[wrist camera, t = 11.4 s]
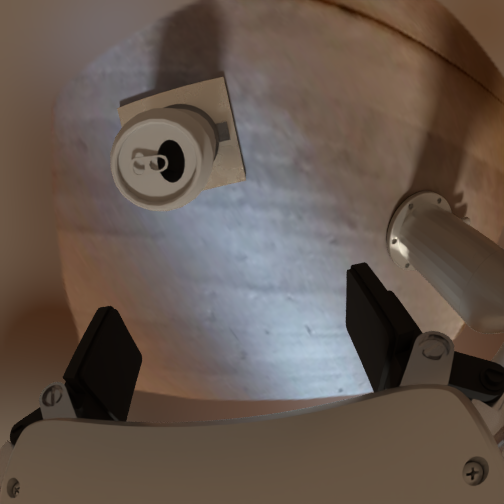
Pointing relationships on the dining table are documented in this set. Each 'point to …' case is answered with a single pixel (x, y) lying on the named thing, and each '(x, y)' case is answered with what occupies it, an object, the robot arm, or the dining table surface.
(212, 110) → the white flat square plate
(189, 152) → the can
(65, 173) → the dining table surface
